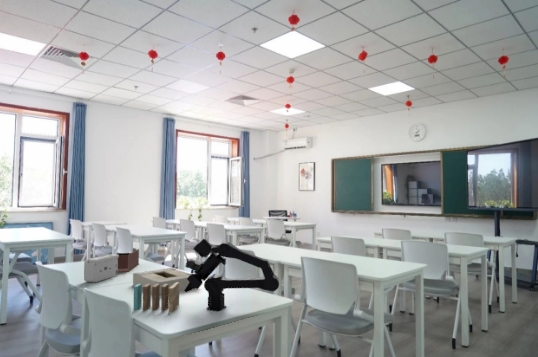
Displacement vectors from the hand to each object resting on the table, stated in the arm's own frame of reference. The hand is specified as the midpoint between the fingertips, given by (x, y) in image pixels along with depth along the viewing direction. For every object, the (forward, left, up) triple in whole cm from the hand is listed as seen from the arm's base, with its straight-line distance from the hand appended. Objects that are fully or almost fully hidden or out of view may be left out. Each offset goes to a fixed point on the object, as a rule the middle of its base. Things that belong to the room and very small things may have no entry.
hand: (185, 291), depth 158 cm
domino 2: (+15, +7, -7) cm, 18 cm away
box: (+35, -26, -8) cm, 45 cm away
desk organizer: (+96, -55, -8) cm, 110 cm away
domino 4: (+8, +4, -7) cm, 11 cm away
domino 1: (+19, +9, -7) cm, 22 cm away
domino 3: (+12, +5, -7) cm, 15 cm away
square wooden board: (+4, +2, -7) cm, 9 cm away
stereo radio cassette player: (+83, -25, -8) cm, 87 cm away
